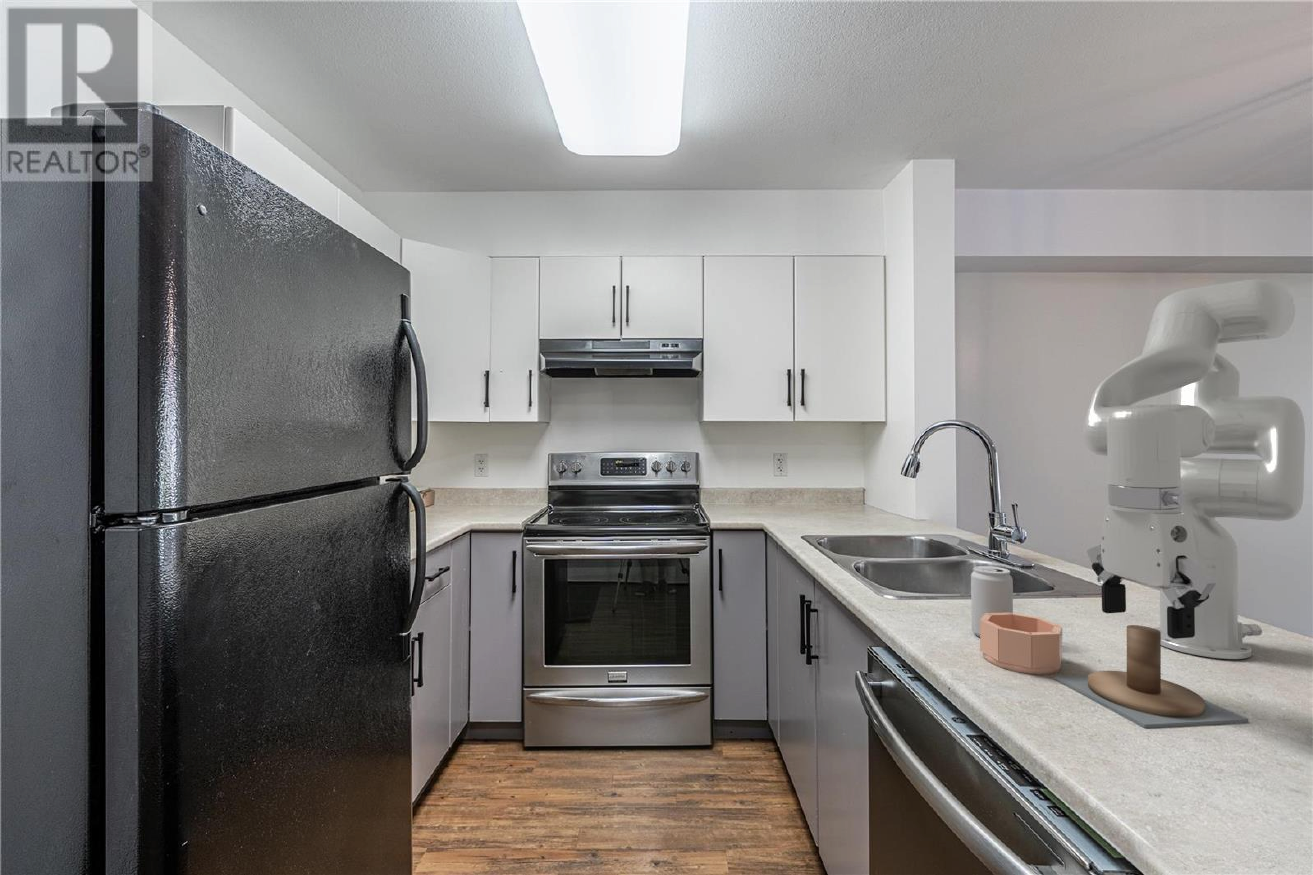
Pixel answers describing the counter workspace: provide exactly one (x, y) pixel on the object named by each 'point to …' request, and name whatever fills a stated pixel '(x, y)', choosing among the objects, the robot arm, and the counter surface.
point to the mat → (1146, 720)
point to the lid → (1145, 680)
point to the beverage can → (990, 593)
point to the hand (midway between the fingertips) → (1145, 624)
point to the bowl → (1021, 643)
